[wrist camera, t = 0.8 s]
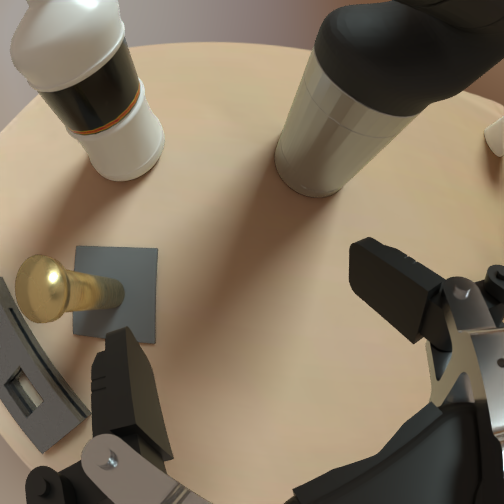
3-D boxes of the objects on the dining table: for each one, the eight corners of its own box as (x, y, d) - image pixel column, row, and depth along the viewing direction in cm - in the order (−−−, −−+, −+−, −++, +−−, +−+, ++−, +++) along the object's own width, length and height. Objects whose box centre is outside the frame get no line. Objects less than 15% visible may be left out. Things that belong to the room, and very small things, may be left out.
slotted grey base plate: (-28, 319, 26) (-41, 320, 23) (2, 277, 28) (-13, 274, 24) (53, 444, 25) (42, 454, 22) (91, 413, 27) (80, 422, 23)
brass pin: (94, 271, 29) (17, 253, 15) (130, 273, 29) (65, 256, 15) (93, 311, 28) (14, 318, 14) (129, 315, 29) (62, 327, 15)
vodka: (104, 197, 30) (-75, 7, 1) (89, 137, 31) (-27, -42, 2) (176, 164, 32) (105, -108, 2) (154, 107, 33) (98, -109, 3)
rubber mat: (77, 246, 29) (76, 245, 29) (158, 248, 30) (157, 248, 30) (74, 333, 28) (73, 333, 27) (155, 343, 29) (154, 343, 28)
